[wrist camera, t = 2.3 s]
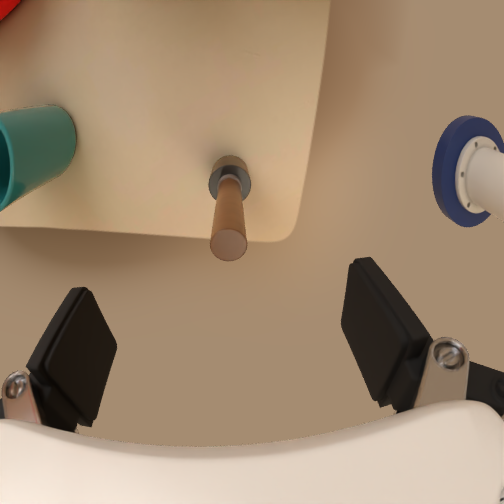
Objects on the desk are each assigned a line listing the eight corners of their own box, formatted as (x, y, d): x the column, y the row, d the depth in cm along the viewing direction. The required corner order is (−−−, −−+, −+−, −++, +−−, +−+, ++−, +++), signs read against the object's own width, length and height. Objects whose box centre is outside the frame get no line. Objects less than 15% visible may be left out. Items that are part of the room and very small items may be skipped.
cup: (10, 111, 20) (-53, 127, 10) (81, 100, 22) (14, 106, 12) (10, 178, 24) (-46, 212, 15) (78, 179, 26) (19, 218, 16)
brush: (246, 153, 27) (263, 206, 13) (249, 187, 28) (267, 272, 14) (210, 157, 27) (185, 215, 13) (214, 191, 28) (198, 279, 14)
